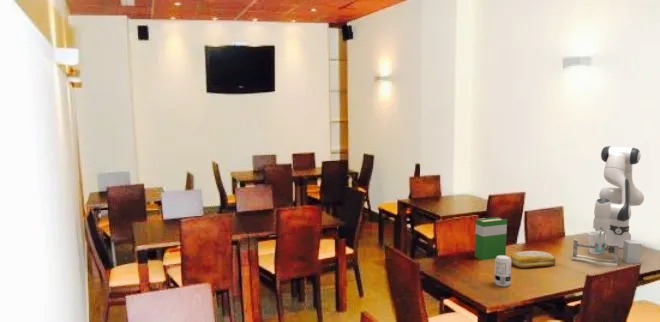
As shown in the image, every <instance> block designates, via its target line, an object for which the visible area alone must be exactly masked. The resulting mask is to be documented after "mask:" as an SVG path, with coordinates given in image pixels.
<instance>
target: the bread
mask: <svg viewBox="0 0 660 322" xmlns="http://www.w3.org/2000/svg"><path fill="white" fill-rule="evenodd" d="M510 259H511V265H512V266H515V267H517V268H519V269H529V268H533V267H534V268H535V267H549V266H554V265H555V264H556V257H555V256H554V255H552V254H551V253H549V252H547V251H541V250H540V251H539V250H525V251H523V250H522V251H519V252H514V253H512V254H511V256H510Z"/></svg>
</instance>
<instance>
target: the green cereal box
mask: <svg viewBox="0 0 660 322" xmlns="http://www.w3.org/2000/svg"><path fill="white" fill-rule="evenodd" d="M507 227H508V219H506V218H505V219H502V218H501V216H497V217H488V218H487V217H486V218H485V217H484V218H479V219H475V233H474V234H475V236H474V237H475V240H474V257H475V258H476V259H479V260H481V261H487V260H493V259H494V260H495V259H496V257H497V256H498V255H505V256H507V255H506V253H507V252H506V251H507V249H506V248H507V232H508V231H507V230H508V229H507Z"/></svg>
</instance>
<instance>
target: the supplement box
mask: <svg viewBox="0 0 660 322" xmlns="http://www.w3.org/2000/svg"><path fill="white" fill-rule="evenodd" d="M641 248H642V243H641V242H639V241H637V240H632V239H631V240H624V245H623V248H622V261H624V263H626V264H634V265H640V261H641V251H642V250H641Z"/></svg>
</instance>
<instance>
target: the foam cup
mask: <svg viewBox="0 0 660 322" xmlns="http://www.w3.org/2000/svg"><path fill="white" fill-rule="evenodd" d="M596 238H597V231H593V230H592V231H588V232H587V239H588V240H587V241H588V245H592V246H595V243H596ZM588 250H589V253H590V254H591V255H597V256H599V255H601V253H600V252H595V249H594V248H588Z"/></svg>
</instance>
